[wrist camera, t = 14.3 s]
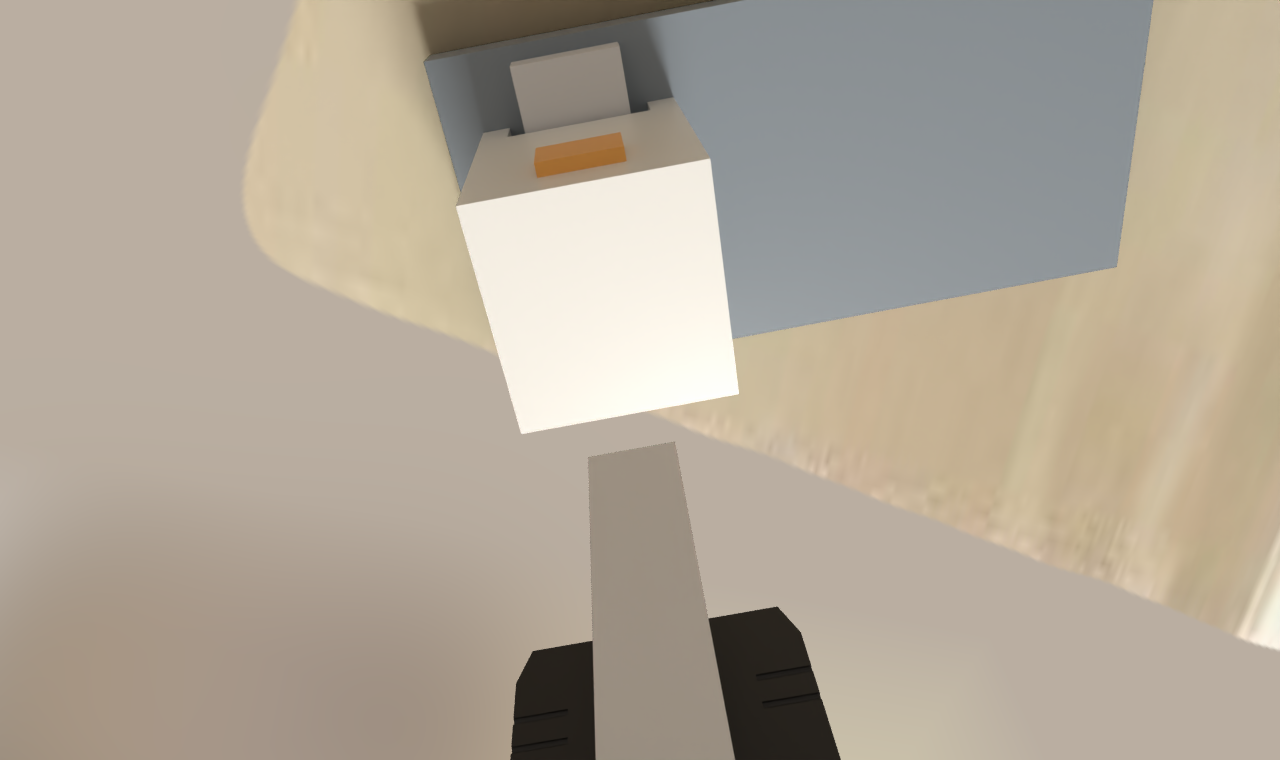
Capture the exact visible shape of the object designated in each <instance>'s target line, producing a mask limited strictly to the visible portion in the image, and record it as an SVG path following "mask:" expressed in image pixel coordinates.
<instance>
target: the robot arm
mask: <svg viewBox="0 0 1280 760" xmlns="http://www.w3.org/2000/svg"><path fill="white" fill-rule="evenodd" d="M588 468H589V509H590V549H591V585H592V586H591V587H592V588H591V590H592V628H593V629H592V631H593V641H589V642H583V643H578V644H571V645H566V646H560V647H555V648H549V649H543V650H537V651H533V652H532V654H531V656H530V658H529V660H528V662H527V663H526V666H525V667H524V669H523V671H522V673H521V675H520V677H519V679H518V681H517V683H516V693H515V706H514V725H513V733H512V754H511V759H510V760H841V759H840V756H839V753H838V749H837V746H836V743H835V740H834V737H833V734H832V731H831V727H830V724H829V721H828V718H827V714H826V711H825V708H824V705H823V702H822V699H821V697H820V692H819V689H818V686H817V682H816V679H815V677H814V673H813V672H812V668H811V663H810V660H809V657H808V654H807V651H806V647H805V644H804V641H803V638H802V635H801V632H800V631H799V630H798V629H797V628H796V627H795V626H794V624H793V623H792V622H791V621H790V620H789V619H788V618H787V617H786V616H785V614H784V613H783V612H782V611H781V610H780V609H779V608H778V607H773V608H767V609H761V610H755V611H749V612H744V613H738V614H733V615H727V616H721V617H715V618H709V619H708V614H707V609H706V604H705V599H704V593H703V589H702V582H701V577H700V572H699V567H698V562H697V556H696V551H695V546H694V541H693V535H692V530H691V524H690V519H689V514H688V509H687V503H686V498H685V493H684V487H683V482H682V477H681V472H680V466H679V461H678V456H677V450H676V446H675V442H670V443H664V444H659V445H653V446H647V447H642V448H637V449H631V450H626V451H619V452H614V453H608V454H603V455H597V456H592V457H588Z"/></svg>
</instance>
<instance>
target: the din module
mask: <svg viewBox="0 0 1280 760" xmlns="http://www.w3.org/2000/svg"><path fill="white" fill-rule="evenodd" d="M647 105H648V111H643V112H638V113H632V114H627V115H622V116H616V117H611V118H606V119H601V120H595V121H590V122H585V123H579V124H574V125H569V126H563V127H558V128H553V129H547V130H542V131H537V132H531V133H526V134H521V135H516V136H511V132H510V128H507V129H502V130H496V131H491V132H486V133H483V135H482V138H481V140H480V143H479V146H478V148H477V151H476V154H475V156H474V159H473V162H472V164H471V167H470V170H469V172H468V175H467V178H466V180H465V183H464V186H463V188H462V191H461V194H460V196H459V199H458V202H457V204H456V209H457V212H458V216H459V219H460V223H461V226H462V230H463V233H464V237H465V240H466V244H467V247H468V250H469V254H470V257H471V261H472V264H473V268H474V271H475V275H476V278H477V282H478V285H479V289H480V292H481V296H482V299H483V303H484V306H485V309H486V313H487V316H488V320H489V323H490V327H491V330H492V334H493V337H494V341H495V344H496V348H497V351H498V355H499V358H500V361H501V365H502V368H503V372H504V375H505V378H506V382H507V386H508V389H509V392H510V396H511V400H512V403H513V406H514V410H515V414H516V417H517V420H518V424H519V427H520V431H521V433H522V434H524V433H530V432H535V431H540V430H546V429H551V428H557V427H562V426H568V425H573V424H578V423H584V422H589V421H595V420H600V419H606V418H611V417H616V416H622V415H627V414H632V413H638V412H644V411H649V410H655V409H660V408H666V407H671V406H677V405H682V404H687V403H693V402H698V401H704V400H709V399H715V398H720V397H726V396H731V395H736V394H739V391H738V382H737V374H736V366H735V358H734V349H733V341H732V333H731V325H730V316H729V308H728V300H727V292H726V283H725V275H724V267H723V259H722V250H721V242H720V234H719V226H718V218H717V209H716V201H715V193H714V185H713V176H712V168H711V160H710V157H709V155H708V154H707V152H706V150H705V149H704V147H703V146H702V144H701V142H700V141H699V139H698V137H697V136H696V134H695V132H694V131H693V129H692V127H691V126H690V124H689V122H688V121H687V119H686V117H685V116H684V114H683V112H682V111H681V109H680V107H679V106H678V104H677V102H676V101H675V99H674V97H672V98H666V99H661V100H656V101H650V102H647Z"/></svg>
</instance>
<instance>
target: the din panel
mask: <svg viewBox="0 0 1280 760" xmlns="http://www.w3.org/2000/svg"><path fill="white" fill-rule="evenodd" d="M1152 7H1153V0H713V1H708V2H703V3H698V4H693V5H687V6H682V7H677V8H672V9H667V10H662V11H656V12H651V13H646V14H641V15H636V16H630V17H625V18H620V19H615V20H610V21H605V22H599V23H594V24H589V25H584V26H579V27H573V28H568V29H563V30H558V31H553V32H547V33H542V34H537V35H532V36H527V37H522V38H516V39H511V40H506V41H501V42H496V43H490V44H485V45H480V46H475V47H470V48H465V49H459V50H454V51H449V52H444V53H439V54H433V55H430V56H429V57H428V58H427V59H426V60H425V61H424V65H425V68H426V72H427V75H428V79H429V82H430V86H431V89H432V93H433V96H434V100H435V103H436V107H437V110H438V114H439V117H440V121H441V124H442V128H443V132H444V135H445V139H446V142H447V146H448V149H449V153H450V156H451V160H452V163H453V167H454V170H455V174H456V177H457V181H458V184H459V188H460V191H462V188H463V186H464V183H465V180H466V178H467V175H468V172H469V170H470V167H471V164H472V162H473V159H474V156H475V154H476V151H477V148H478V146H479V143H480V140H481V138H482V135H483V133H486V132H491V131H496V130H502V129H507V128H510V132H511V136H516V135H521V134H526V133H531V132H537V131H542V130H547V129H553V128H558V127H563V126H569V125H574V124H579V123H585V122H590V121H595V120H601V119H606V118H611V117H616V116H622V115H627V114H632V113H638V112H643V111H648V105H647V102H650V101H656V100H661V99H666V98H672V97H674V99H675V101H676V102H677V104H678V106H679V107H680V109H681V111H682V112H683V114H684V116H685V117H686V119H687V121H688V122H689V124H690V126H691V127H692V129H693V131H694V132H695V134H696V136H697V137H698V139H699V141H700V142H701V144H702V146H703V147H704V149H705V150H706V152H707V154H708V155H709V157H710V160H711V168H712V176H713V185H714V193H715V201H716V209H717V218H718V226H719V234H720V242H721V250H722V259H723V267H724V275H725V283H726V292H727V300H728V308H729V316H730V325H731V333H732V339H735V338H740V337H745V336H751V335H756V334H761V333H767V332H772V331H777V330H783V329H788V328H793V327H799V326H804V325H809V324H815V323H820V322H826V321H831V320H836V319H842V318H847V317H852V316H858V315H863V314H868V313H874V312H879V311H884V310H890V309H895V308H900V307H906V306H911V305H916V304H922V303H927V302H932V301H938V300H943V299H948V298H954V297H959V296H964V295H970V294H975V293H981V292H986V291H991V290H997V289H1002V288H1007V287H1013V286H1018V285H1023V284H1029V283H1034V282H1039V281H1045V280H1050V279H1055V278H1061V277H1066V276H1071V275H1077V274H1082V273H1087V272H1093V271H1098V270H1103V269H1109V268H1114V267H1117V261H1118V254H1119V246H1120V239H1121V232H1122V225H1123V217H1124V210H1125V203H1126V196H1127V188H1128V181H1129V174H1130V167H1131V159H1132V152H1133V145H1134V137H1135V130H1136V123H1137V116H1138V108H1139V101H1140V94H1141V87H1142V79H1143V72H1144V65H1145V58H1146V50H1147V43H1148V36H1149V28H1150V21H1151V14H1152Z"/></svg>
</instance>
